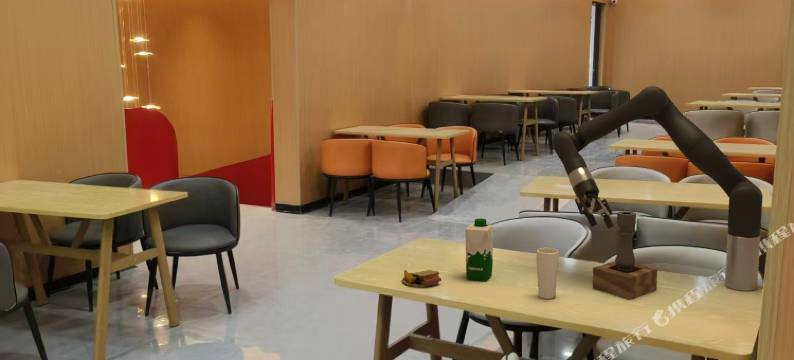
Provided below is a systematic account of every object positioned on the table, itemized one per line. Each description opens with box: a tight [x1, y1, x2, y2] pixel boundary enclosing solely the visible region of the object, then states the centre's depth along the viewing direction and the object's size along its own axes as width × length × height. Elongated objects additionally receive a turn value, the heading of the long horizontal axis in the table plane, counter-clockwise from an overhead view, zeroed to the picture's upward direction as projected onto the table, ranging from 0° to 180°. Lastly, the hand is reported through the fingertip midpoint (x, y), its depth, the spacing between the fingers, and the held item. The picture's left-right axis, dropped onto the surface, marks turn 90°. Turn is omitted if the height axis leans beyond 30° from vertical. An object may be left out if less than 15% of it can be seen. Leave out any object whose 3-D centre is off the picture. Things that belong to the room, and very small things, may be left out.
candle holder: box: [614, 210, 637, 274], centre depth 221 cm, size 6×6×25 cm
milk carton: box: [464, 217, 494, 283], centre depth 237 cm, size 9×9×20 cm
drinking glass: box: [535, 247, 560, 300], centre depth 216 cm, size 7×7×15 cm
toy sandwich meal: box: [402, 269, 442, 287], centre depth 235 cm, size 12×14×5 cm
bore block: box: [592, 260, 658, 300], centre depth 222 cm, size 14×14×7 cm
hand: (602, 226), depth 223 cm, fingers open, 8 cm apart
